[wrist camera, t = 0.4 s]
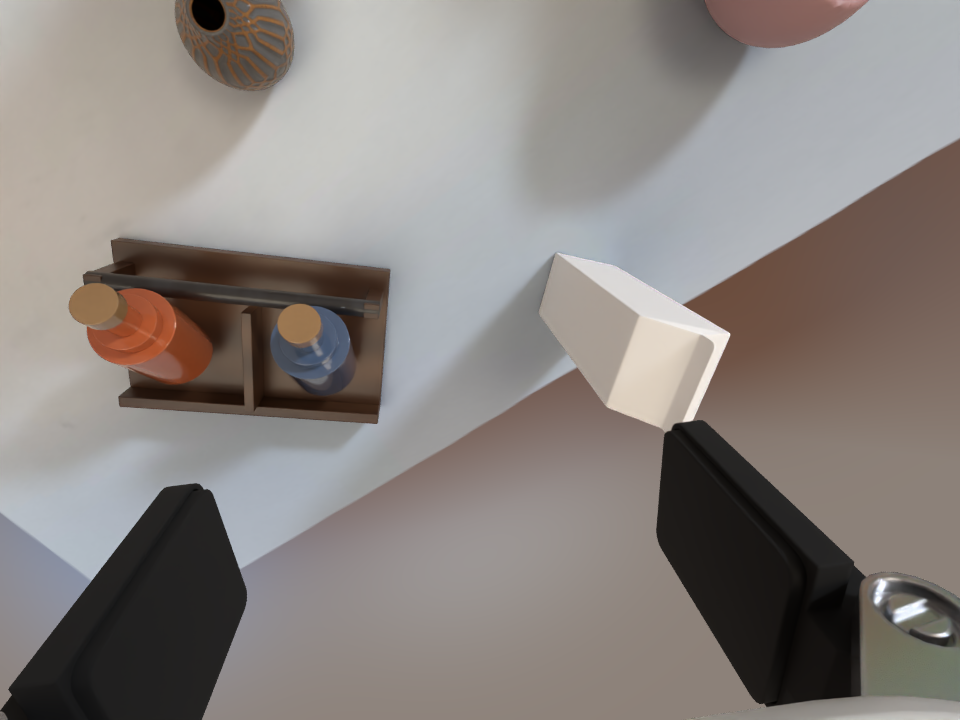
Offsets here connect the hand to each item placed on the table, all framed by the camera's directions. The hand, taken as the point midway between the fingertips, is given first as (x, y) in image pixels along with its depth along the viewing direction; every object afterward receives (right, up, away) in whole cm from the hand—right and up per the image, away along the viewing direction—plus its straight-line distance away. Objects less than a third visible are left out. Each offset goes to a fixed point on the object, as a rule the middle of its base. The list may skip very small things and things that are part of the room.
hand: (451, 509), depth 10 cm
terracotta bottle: (-25, +4, +32) cm, 40 cm away
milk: (+10, +10, +36) cm, 39 cm away
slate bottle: (-13, +3, +33) cm, 36 cm away
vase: (-16, +27, +26) cm, 41 cm away
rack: (-19, +6, +35) cm, 40 cm away
